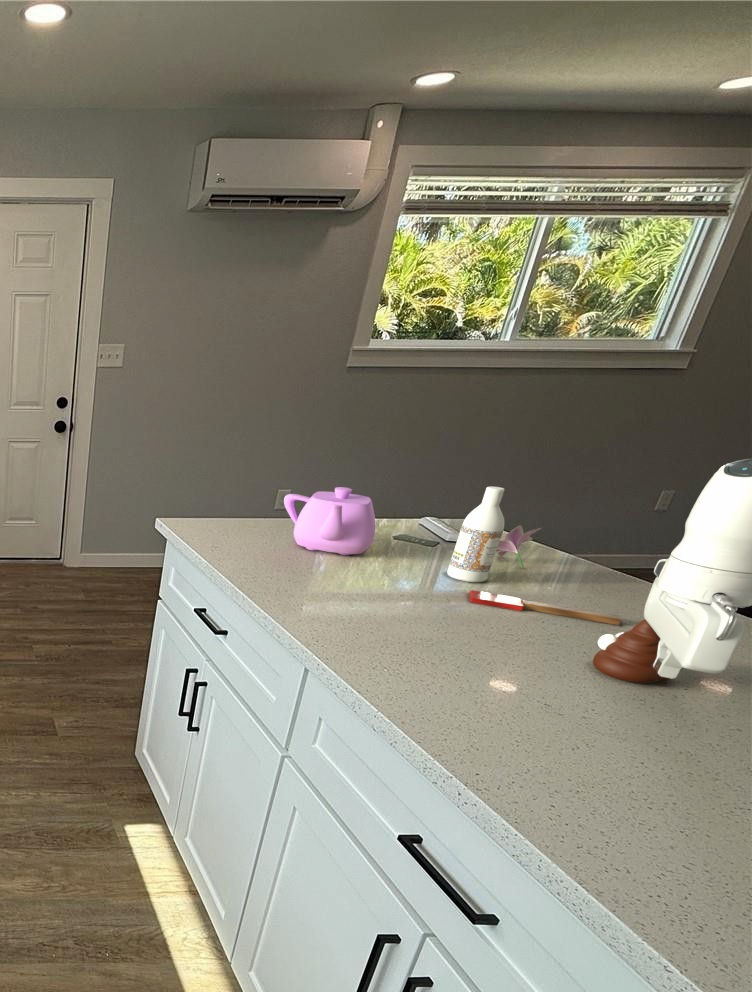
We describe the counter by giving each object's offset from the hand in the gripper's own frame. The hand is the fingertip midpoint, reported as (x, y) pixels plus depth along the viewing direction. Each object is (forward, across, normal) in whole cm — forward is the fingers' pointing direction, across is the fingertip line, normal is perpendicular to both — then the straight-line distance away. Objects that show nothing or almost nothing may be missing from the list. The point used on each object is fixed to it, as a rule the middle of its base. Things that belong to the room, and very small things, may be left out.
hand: (663, 673), depth 90 cm
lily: (+6, +67, +11) cm, 68 cm away
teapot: (+6, +57, +46) cm, 73 cm away
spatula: (+5, +36, +8) cm, 37 cm away
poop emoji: (+6, +12, 0) cm, 13 cm away
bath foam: (+6, +50, +19) cm, 54 cm away
